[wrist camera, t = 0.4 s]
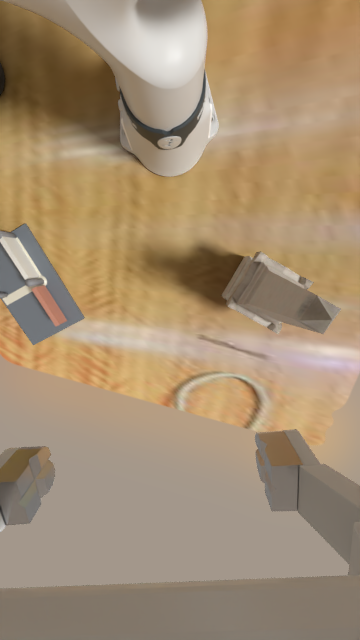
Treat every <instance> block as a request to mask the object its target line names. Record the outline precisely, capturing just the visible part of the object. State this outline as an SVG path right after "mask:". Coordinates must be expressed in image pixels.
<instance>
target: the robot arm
mask: <svg viewBox="0 0 360 640" xmlns="http://www.w3.org/2000/svg"><path fill="white" fill-rule="evenodd" d="M2 1H5V2H7V3H10V4H13V5H16V6H19V7H21V8H24V9H26V10H29V11H32V12H34V13H36V14H38V15H41V16H43V17H45V18H46V19H48V20H50V21H52V22H54V23H55V24H57V25H59V26H60V27H62V28H64V29H65V30H67V31H68V32H70V33H71V34H73V35H74V36H76V37H77V38H78V39H80V40H81V41H82V42H84V43H85V44H86V45H87V46H89V47H90V48H91V49H92V50H93V51H95V52H96V53H97V54H98V55H99V56H100V57H101V58H102V59H103V60H104V61H105V62H106V63H107V64H108V65H109V66H110V68H111V69H112V72H113V74H114V75H115V81H116V87H117V90H118V91H120V100H118V107H119V110H120V142H121V145H122V147H123V148H124V149H126V150H127V151H129V152H131V153H133V154H134V155H136V156H137V158H138V159H139V160H140V161H141V163H142V164H143V165H144V166H145V167H146V168H147V169H149V170H150V171H152V172H153V173H155V174H158V175H161V176H168V177H170V176H177V175H180V174H183V173H185V172H187V171H188V170H190V169H191V168H192V167H193V166H194V165H195V164H196V163H197V162H198V160H199V159H200V157H201V155H202V153H203V151H204V149H205V147H206V145H207V143H208V142H209V141H210V140H211V139H212V138H213V137H214V136H215V135H216V134H217V132H218V128H219V124H218V120H217V116H216V112H215V108H214V104H213V100H212V96H211V92H210V88H209V84H208V80H207V76H206V72H205V58H206V48H207V22H206V16H205V12H204V8H203V5H202V2H201V0H2ZM211 120H212V122H211ZM255 442H256V445H257V447H258V449H257V451H256V463H257V468H258V472H259V476H260V479H261V481H262V482H264V483H265V493H266V496H267V499H268V502H269V505H270V507H271V510H272V511H298V513H299V514H300V515H301V516H302V517H303V518H304V519H305V520H306V521H307V522H308V523H309V524H310V525H311V526H312V527H313V528H314V529H315V530H316V531H317V532H318V533H319V534H320V535H321V536H322V537H323V538H324V539H325V540H326V541H327V542H328V543H329V544H330V545H331V546H332V547H333V548H334V549H335V550H336V551H337V552H338V554H339V555H340V556H341V557H342V558H343V559H344V560H345V561H346V562H347V563H348V564H349V572H348V576H321V577H294V578H267V579H241V580H215V581H189V582H165V583H138V584H112V585H111V584H110V585H85V586H84V585H83V586H58V587H57V586H55V587H30V588H29V587H27V588H1V589H0V640H360V486H359V485H358V484H356V483H354V482H353V481H351V480H350V479H348V478H347V477H345V476H343V475H342V474H340V473H339V472H337V471H335V470H334V469H332V468H330V467H329V466H327V465H325V464H320V463H319V461H318V460H317V458H316V457H315V455H314V454H313V452H312V451H311V449H310V448H309V446H308V445H307V443H306V442H305V440H304V439H303V437H302V436H301V434H300V433H299V431H298V430H296V429H294V430H283V431H274V432H260V433H256V435H255ZM50 456H51V453H50V450H49V448H48V447H45V446H44V447H21V448H9V449H7V450H5V451H4V452H3V453H2V454H1V455H0V532H1V531H2V530H3V529H4V528H5V525H16V524H27V523H30V522H31V520H32V519H33V517H34V515H35V514H36V512H37V510H38V509H39V507H40V505H41V498H42V497H43V496H44V495H45V494H47V493H48V492H49V490H50V488H51V486H52V485H53V481H54V477H55V468H54V465H53V463H52V462H51V461H50V460H48V459H49V458H50Z"/></svg>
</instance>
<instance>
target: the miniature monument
mask: <svg viewBox="0 0 360 640" xmlns="http://www.w3.org/2000/svg"><path fill="white" fill-rule="evenodd" d="M313 283H314V282H312V281H310V280H308V279H306V278H304V277H301V276H299V275H297V274H296V273H294V272H293V271H291V270H290V269H288V268H287V267H285V266H283V265H281V264H279V263H277V262H276V261H274V260H272V259H270V258H268V256H267V255H265V254H264V253H262V252H256V254H255V256H254V257H253V258H252V257H250V256H246V257H244V258H243V260H242V261H241V263H240V265H239V267H238V268H237V270H236V272H235V273H234V275H233V277H232V278H231V280H230V282H229V283H228V285H227V287H226V289H225V290H224V292H223V294H222V295H221V296H222V297H223V298H224V299H226V300H228V301H227V302H226V305H227V306H228V307H230V308H232V309H234V310H236V311H238V312H240V313H242V314H243V315H245V316H247V317H248V318H250V319H252V320H254V321H256V322H258V323H260V324H262V325H263V326H265V327H267V328H269V329H270V330H272V331H273V332H275V333H277V334H279V332H280V330H281V328H282V324H281V323H282V322H284V323H287V324H290V325H294V326H297V327H301V328H304V329H308V330H311V331H314V332H318V333H321V334H324V332H325V331H326V329H327V328H328V327H329V325H330V324H331V323H332V321H333V320H334V319H335V317H336V316H337V314H338V313H339V312H340V310H341V309H340V308H338V307H336V306H335V305H333V304H331V303H329V302H328V301H326V300H324V299H322V298H321V297H319V296H317V295H315V294H313V293H311V292H310V291H308V290H307V289H308V288H309V287H310V286H311V285H312V284H313Z"/></svg>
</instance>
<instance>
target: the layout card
mask: <svg viewBox="0 0 360 640" xmlns="http://www.w3.org/2000/svg"><path fill="white" fill-rule="evenodd" d="M11 233H14V234H15V235H16V239H17V241H18V242H19V244H20V245H21V247H22V248H23V250H24V252H25V253H26V255H27V256H28V258H29V259H30V261H31V263H32V264H33V266H34V267H35V269H36V270H37V272H38V274H39V275H40V277H38V278H42V279H43V280H44V284H42V285H36V286H30V287H28V286H26V285H25V281H26V280H25V279H24V277H23V276H22V274H21V273H20V271H19V270H18V268H17V267H16V265H15V264H14V262H13V261H12V259H11V258H10V256H9V255H8V253H7V252H6V250H5V248H4V247H3V245H2V244H1V242H0V293H1V292H7V293H8V296H7V297H5V298H1V299H2V301H3V302H4V304H5V305H6V306H7V308H8V309H9V311H10V312H11V314H12V315H13V317H14V318H15V319H16V321H17V322H18V324H19V325H20V327H21V328H22V330H23V331H24V333H25V334H26V335H27V337H28V338H29V340H30V341H31V343H32V344H33V345H34V344H36V343H38V342H40V341H42V340H44V339H46V338H48V337H50V336H52V335H54V334H55V333H57V332H59V331H61V330H63V329H65V328H67V327H69V326H71V325H73V324H74V323H76V322H78V321H80V320H82V319H84V316H83V314H82V313H81V311H80V310H79V308H78V306H77V305H76V303H75V301H74V300H73V298H72V297H71V295H70V293H69V292H68V290H67V289H66V287H65V285H64V284H63V282H62V281H61V279H60V277H59V276H58V274H57V273H56V271H55V269H54V268H53V266H52V264H51V263H50V261H49V260H48V258H47V256H46V255H45V253H44V252H43V250H42V248H41V247H40V245H39V244H38V242H37V240H36V239H35V237H34V236H33V234H32V232H31V231H30V229H29V227H28V226H27V224H23V225H22V226H20V227H19V228H17V229H15V230H14V231H12V232H11ZM38 278H36V279H38ZM27 280H30V279H27ZM44 285H45V286H46V288H47V289H48V291H49V293H50V294H51V296H52V297H53V299H54V300H55V302H56V304H57V305H58V307H59V308H60V310H61V311H62V313H63V314H64V316H65V318H66V319H67V321H66V322H64V323H62V324H60V325H58V326H55V325H54V323H53V322H52V320H51V319H50V317H49V316H48V314H47V312H46V311H45V309H44V308H43V306H42V305H41V303H40V302H39V300H38V299H37V297H36V296H35V294H34V293H33V291H32V290H31V289H33V288H35V287H39V286H44Z"/></svg>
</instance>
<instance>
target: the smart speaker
mask: <svg viewBox="0 0 360 640" xmlns="http://www.w3.org/2000/svg"><path fill="white" fill-rule="evenodd" d="M4 83H5V77H4V71H3V68H2V65H1V63H0V95H1V93H2V91H3V89H4Z"/></svg>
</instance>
